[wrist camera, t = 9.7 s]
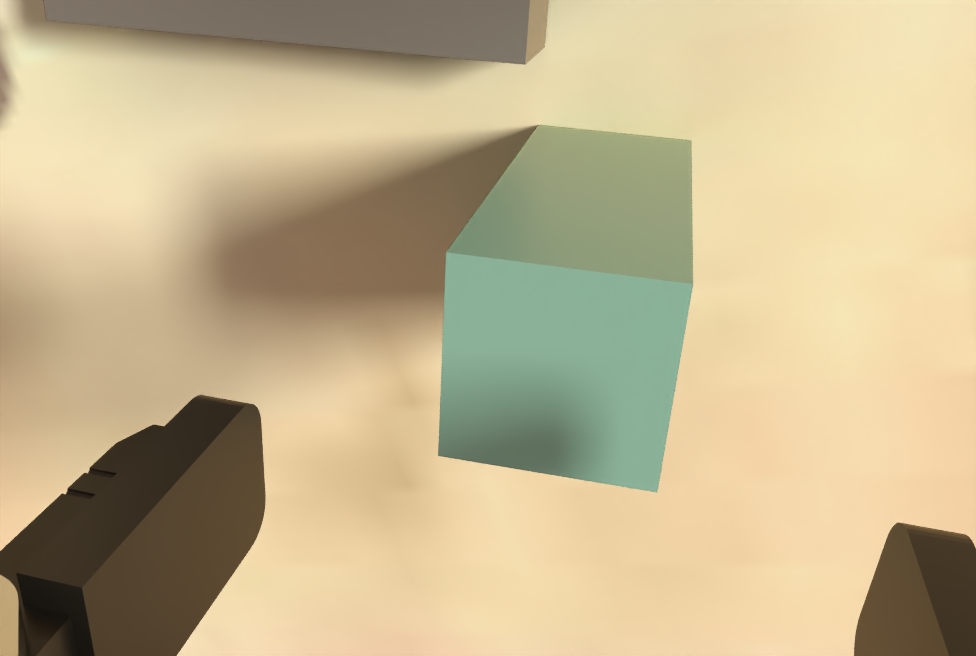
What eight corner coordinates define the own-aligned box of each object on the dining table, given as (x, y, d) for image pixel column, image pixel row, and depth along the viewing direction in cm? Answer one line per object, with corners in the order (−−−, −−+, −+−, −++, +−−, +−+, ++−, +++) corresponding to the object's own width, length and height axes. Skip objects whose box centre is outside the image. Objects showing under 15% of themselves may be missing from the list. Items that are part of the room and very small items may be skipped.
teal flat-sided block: (668, 283, 24) (657, 492, 15) (526, 264, 25) (438, 455, 16) (691, 140, 23) (692, 284, 14) (538, 125, 23) (446, 252, 14)
